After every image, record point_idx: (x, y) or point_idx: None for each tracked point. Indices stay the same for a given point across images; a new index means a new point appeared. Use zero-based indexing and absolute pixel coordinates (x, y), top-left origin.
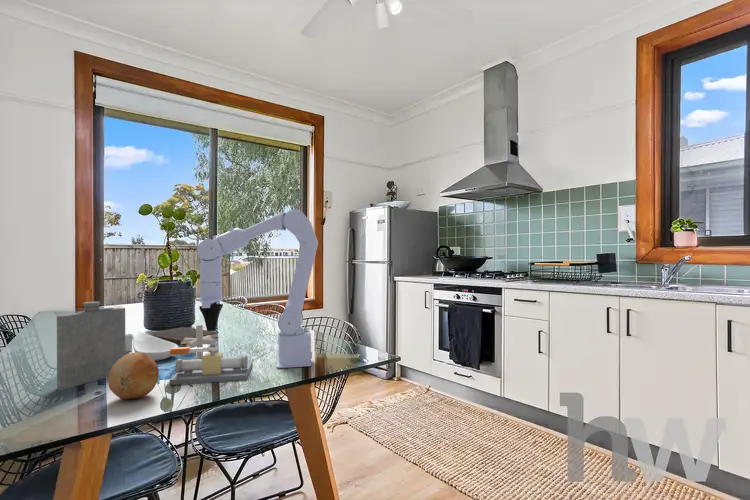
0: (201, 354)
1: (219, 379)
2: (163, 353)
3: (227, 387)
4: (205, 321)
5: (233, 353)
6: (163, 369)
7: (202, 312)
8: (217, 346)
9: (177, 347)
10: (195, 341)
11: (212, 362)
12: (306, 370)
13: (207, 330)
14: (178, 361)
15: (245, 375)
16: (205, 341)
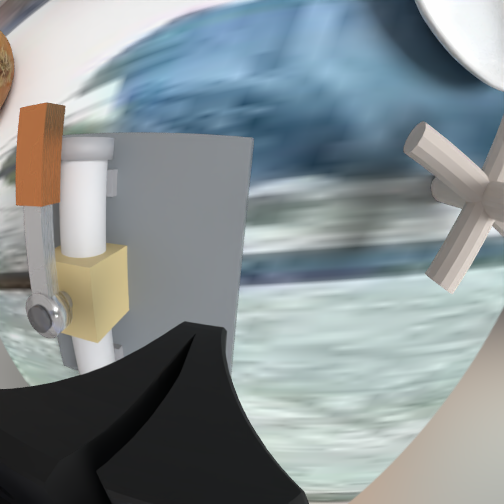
0: (440, 199)
1: None
2: (428, 25)
3: (23, 308)
4: (129, 358)
5: (445, 327)
6: (277, 47)
7: (22, 398)
8: (47, 337)
9: (42, 131)
10: (449, 176)
11: None
12: None
13: (180, 324)
14: None
15: (63, 363)
16: (453, 235)
